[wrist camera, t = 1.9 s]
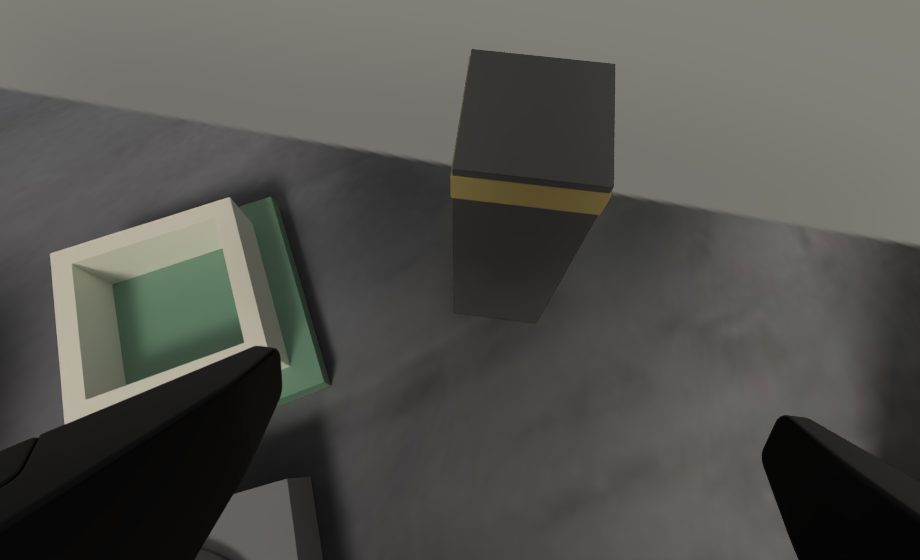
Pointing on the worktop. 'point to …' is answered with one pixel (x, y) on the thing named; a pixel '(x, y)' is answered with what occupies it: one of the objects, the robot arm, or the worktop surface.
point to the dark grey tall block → (527, 177)
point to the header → (180, 304)
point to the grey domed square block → (267, 525)
